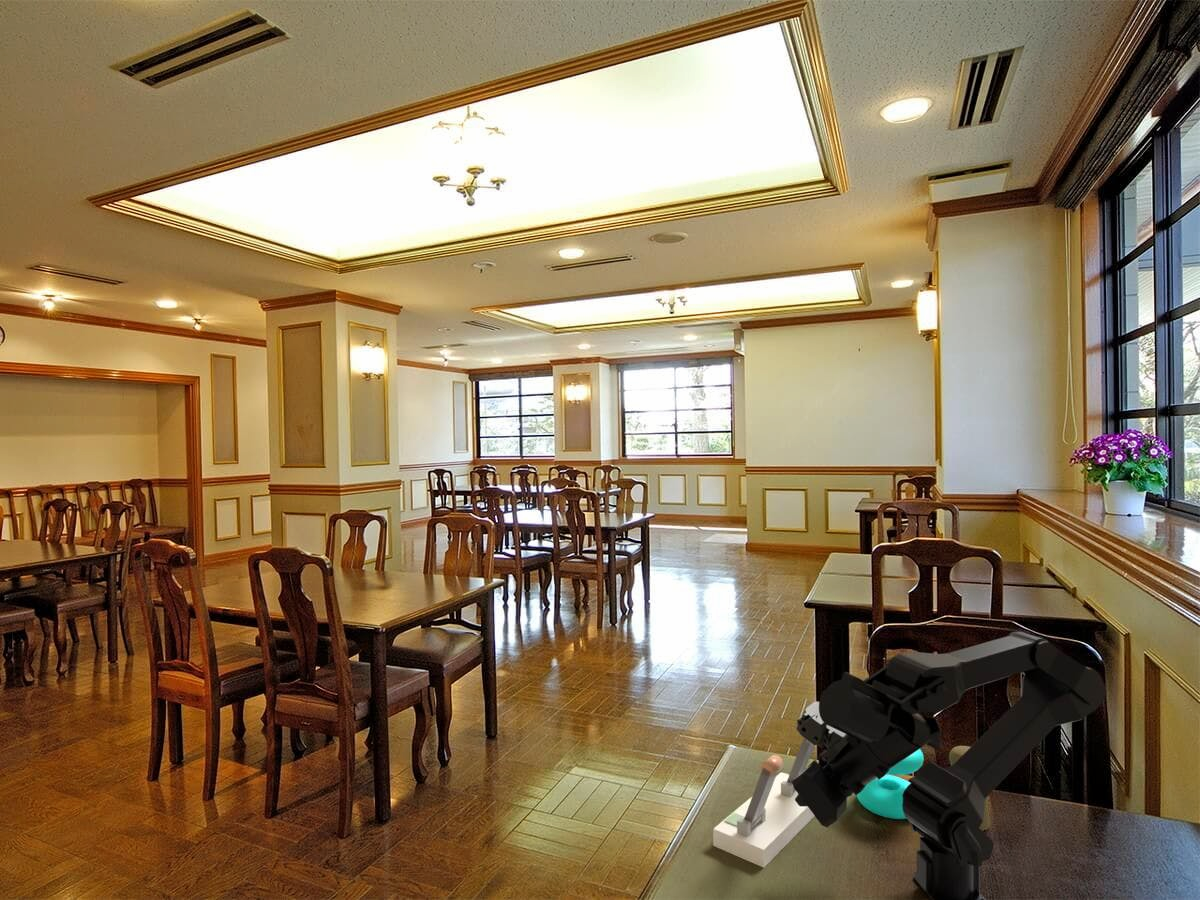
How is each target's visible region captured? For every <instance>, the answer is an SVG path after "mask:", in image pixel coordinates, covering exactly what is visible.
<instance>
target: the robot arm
mask: <svg viewBox="0 0 1200 900" xmlns="http://www.w3.org/2000/svg"><path fill="white" fill-rule="evenodd" d="M1018 674H1023V675H1024V676H1023V677H1022V685H1021V686H1022V688H1021V696H1020V697H1019V698H1018V700H1016V701H1015V703H1013V705H1011V706H1010V708H1009V709H1008V710H1006V712H1005V713H1004V714H1002V716H1000V718H999V719H998V720H997V721H996V722H994V723H993V724H992V726H990V727H989V728H988V729H987V731H985V732H984V733H983V734H982V736H980V737H979V738H978V739H977V740H976V742H974V744H972V745H971V746H969V747H970V748H969V749H968V750H967V751H966V752H965V753H964V754H963V755H962V756H961V757H960V758H959V759H958V760H957V761H956V762H955V763H954V764H953V765H952V766H951V765H949V766H945V767H941V766H940V765H937V763H935V762H933V761H929V762H928V763H926V764H923V767H922V768H920V771H919V772H918V773H917V774H916V775H914V776H912V777H911V778H908V782H909V783H911V784H909V785H908V786H907V788H906V789H905V790H904V792H903V795H902V797H903V804H902V806H903V812H904V815H905V817H906V818H907V820H908V822H909V826H910V828H911V830H912V831H913V832H915V833H917V834H919V835H920V836H921V837H920V838H919V849H917V851H916V871H915V872H913V877H914V879H915V881H916V882H917V883H918V884H919V886H921V888H922V889H923V891H924V892H925V893H926V894H927V896H928V897H929V898H930V899H931V900H987V899H986V897H984V896H983V894H982V893H981V892H980V890H981V889H980V888H981V887H980V885H981V884H980V883H981V882H980V875H981V873H980V868H981V866H982V865H983V863H984V861H988V860H990V859H991V856H992V852H993V850H994V849H993V848H994V845H995V843H994V841H993V840H992V839H991V838H990V837H989V836H988V835H987V834H986V833H985V831H982V830H981V829H980V828H979V827H980V825H981V824H982V823H983V818H984V807H985V799H986V798H988V797H989V795H990V794H991V793H992V792H993V791H994V790H995V789H996V788H997V787H998V786H999V785H1000V784H1001V783H1002V782H1003V781H1004V780H1006V778H1007V777H1008V776H1009V775H1010V774H1011V773H1012V772H1013V771H1014V769H1016V768H1017V766H1018V765H1019V764H1020V763H1022V761H1023V760H1024V759H1026V758H1027V757H1028V755H1029V754H1030V753H1031V752H1032V751H1033V750H1034V749H1035V748H1036V747H1037V746H1038V745H1039V744H1040V743H1041V742H1043V740H1044V739H1045V738H1046V737H1047V736H1048V735H1049V734H1050V733H1051V732H1052V731H1053V730H1054V728H1056V727H1057V726H1060V725H1065V724H1069V723H1074V722H1078V721H1079V722H1080V721H1081V720H1083V719H1085V718H1086V717H1087V716H1088V715H1090V714H1091V713H1093V712H1094V711H1096V710H1097V709H1098V708H1099V707H1100V706H1101V704H1102V703H1103V702H1104V700H1105V699H1106V695H1107V688H1106V685H1105V684H1104V682H1103V678H1102V676H1101V674H1100V673H1099V672H1098V671H1097V670H1095V669H1094V668H1091V667H1088V666H1085V665H1084V664H1082V663H1080V662H1079V661H1077V660H1075V659H1073V658H1072V657H1070V656H1069V655H1067V654H1065V653H1064V652H1063V651H1061V650H1059V649H1058V648H1057V647H1056V646H1055V645H1054V644H1052V643H1050V642H1049V641H1048V640H1047V639H1046V638H1042V637H1039V636H1036V635H1032V634H1029V633H1026V632H1023V631H1014V632H1010V633H1008V634H1007V636H1004V637H1000V638H998V639H993V640H990V641H986V642H983V643H979V644H976V645H973V646H969V647H965V648H962V649H958V650H955V651H954V650H953V651H951V652H948V653H947V652H946V653H929V652H921V651H920V652H908V653H907V652H906V653H903V652H902V653H897V654H896V655H895V656H893V657H891V658H890V659H889V663H888V664H886V665H884V666H883V667H881V668H880V669H879V670H878V671H875V672H874V673H873V674H871V675H870V676H868V677H867V678H865V679H864V680H863V679H861V678H859V677H858V676H855V675H853V674H852V673H850V672H847V671H845V672H844V673H843V675H842V678H841V679H839V680H835V681H833V682H831V683H830V685H828V687H826V688H825V689H824V690H823V691H822V693H821V695H820V698H819V701H813V702H812V703H810V705H808V706H807V707H806V708H805V709H804V711H803V713H802V714H801V717H800V718H799V719H797V721H796V724H797V725H796V728H795V729H796V730H797V732H798V733H799V735H800V736H801V737H802V738H803V737H804V738H805V739H806V740H808V741H809V742H810V743H812V744H813V745H815V746H819V748H821V749H823V751H822V752H821V753H820V754H819V755H818V761H817V759H814V760H812V761H811V763H810V764H809V765H807V767H806V769H805V770H803V771H802V772H801V773H800V774H799V775H798V776H797V777H796V778H795V779H794V780H793V781H792V783H793V787H794V789H795V790H796V791H797V793H798V796H797V797H796V798H795V801H796V802H797V804H798V805H799V806H801V807H802V806H808V807H809V809H810V810H811V811H812V813H813V814H814V817H815V819H817V821H818V822H819V824H821V826H822V827H825V828H828V827H830V826H832V824H834V823H836V822H837V821H838V820H839V819H840V818H841V816H843V814H844V813H845V812H846V810H848V808H847V807H848V804H847V803H848V801H847V799H848V797H852V795H853V794H854V795H855V796H857V794H858V793H860V792H861V791H862V790H863V789H864V788H865V786H866V785H867V784H869V783H870V782H871V781H873V780H874V779H876V778H878V779H881V778H882V777H884V776H885V775H888V774H887V772H888V771H889V770H890V769H891V768H892V767H894V766H895V765H897V764H898V763H899V762H901V761H902V760H904V759H905V758H907V757H908V756H910V755H911V754H913V753H914V752H916V751H917V750H919V749H920V750H921V749H922V748H923V747H925V746H928V747H931V748H933V749H935V750H938V751H940V750H941V749H942V742H941V741H942V740H941V736H942V729H941V727H940V725H939V723H938V721H937V719H936V717H929V716H928V717H927V716H923V715H921V714H920V713H923V712H924V713H928V714H931V715H932V714H938V713H940V712H942V711H944V710H946V709H948V708H949V707H952V706H953V705H955V704H957V703H959V701H960V700H961V698H962V696H963V695H964V693H965V692H966V691H968V690H970V689H972V688H977V687H980V686H982V685H986V684H990V683H992V682H996V681H1000V680H1002V679H1006V678H1008V677H1013V676H1015V675H1018Z"/></svg>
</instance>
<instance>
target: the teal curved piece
mask: <svg viewBox="0 0 1200 900" xmlns="http://www.w3.org/2000/svg"><path fill="white" fill-rule="evenodd" d="M923 765H924V753H923V752H922V750H921V748H920V749H919V750H917V751H916V752H914V753H913V754H911V755H910V756H908V757H907V758H905V759H904V760H902V761H901V762H899V763H898V764H897V765H895V766H894V767H892V768H891V769H890V770H889V771H888V772H887V774H886V775H885V776H884V777H882V778H881V779H878V778H876V779H874V780H873V781H871V782H870V783H869V784H867V785H866V786H865V788H864V789H863V790H862V791H861V792H860V793H858V794H857V795H856V798H857V800H858V801H859V803H860V804H861V806H863V807H864V808H865V809H866V810H867V811H870V812H871V813H873V814H875V815H878V816H880V817H881V816H882V817H884V818H889V819H893V820H894V819H895V820H896V819H897V820H905V819H907V818H906V817H905V815H904V812H903V806H902V804H903V797H902V795H903V792H904V790H905V789H906V788H907V786H908V785H909V784H911V783H910V782H909V781H907V779H903V778H901V777H899V776H906V775H911V774H913V773H915V772H917V771H918V770H919V769H921V767H922V766H923ZM907 820H908V819H907Z"/></svg>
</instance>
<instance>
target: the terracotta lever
mask: <svg viewBox="0 0 1200 900" xmlns="http://www.w3.org/2000/svg"><path fill="white" fill-rule="evenodd" d="M783 761H784V760H783V759H782V758H781V756H779V755H777V754H772V755H771V756H770V757H768V758H767V759H766V760H765V761H763V762H762V763H761V764H760V771H761V772H760V776H759V777H758V778H759V779H758V781H757V782H756V783H757V784H756V786H755V788H754V791H753V794H752V796H751V797H752V799H751V802H750V804H749V807H748V810H747V812H746V815H745V818H744V819H745V820H747V821H750V822H751V829H752V828H753V827H754V826H755V825H756V824H757V823H758V822H759V821H760V820H761V814H762V812H763V809H764V806H765V804H766V801H767V799H768V796H769V793H770V791H771V788H772V785H773V783H774V780H775V778H776V776H777V775H778V773H779V771H780V770H782V768H783V766H784V762H783Z"/></svg>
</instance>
